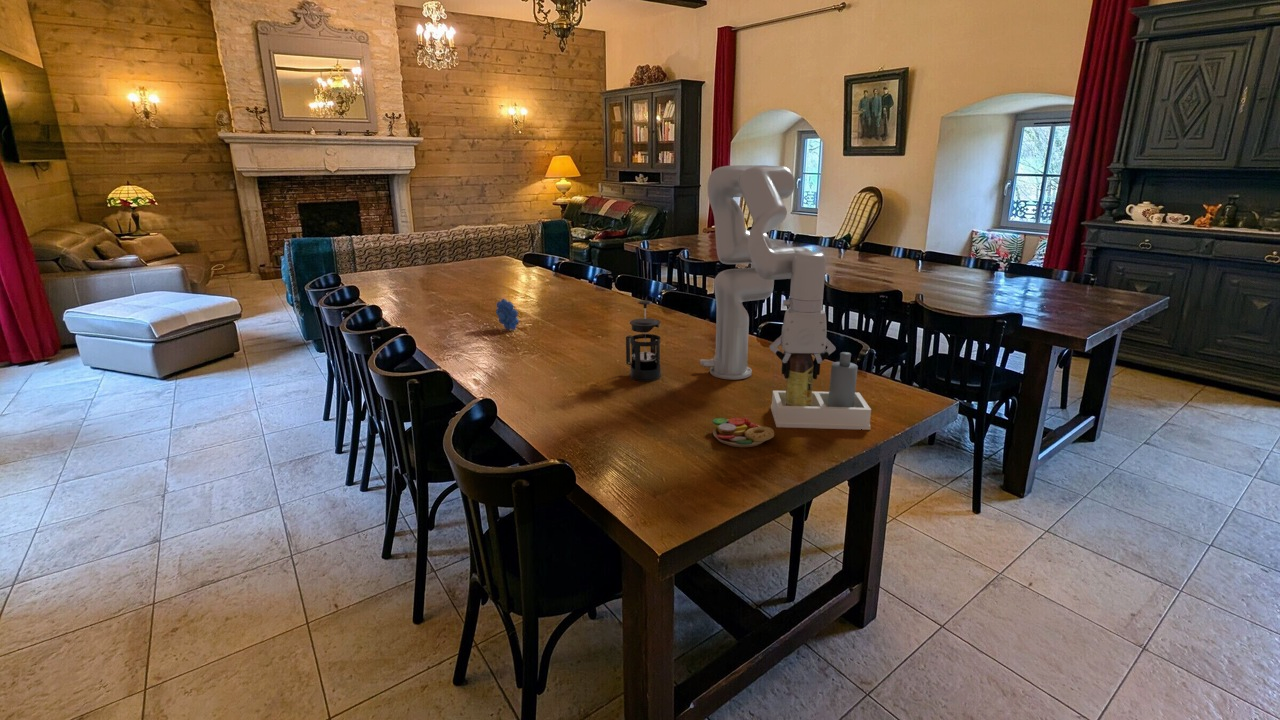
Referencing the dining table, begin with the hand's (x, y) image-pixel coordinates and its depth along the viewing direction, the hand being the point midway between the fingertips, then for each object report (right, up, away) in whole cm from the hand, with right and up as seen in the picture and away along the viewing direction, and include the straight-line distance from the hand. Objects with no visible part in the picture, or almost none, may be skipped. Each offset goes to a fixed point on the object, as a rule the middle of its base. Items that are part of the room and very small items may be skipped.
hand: (800, 376), depth 148 cm
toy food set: (-16, -14, -7) cm, 22 cm away
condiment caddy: (+5, -11, +3) cm, 12 cm away
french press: (-38, -1, +34) cm, 51 cm away
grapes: (-91, +15, +87) cm, 127 cm away
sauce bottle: (0, -8, +3) cm, 9 cm away
